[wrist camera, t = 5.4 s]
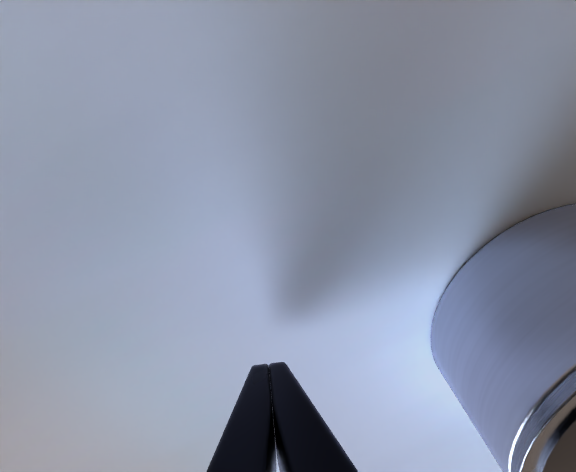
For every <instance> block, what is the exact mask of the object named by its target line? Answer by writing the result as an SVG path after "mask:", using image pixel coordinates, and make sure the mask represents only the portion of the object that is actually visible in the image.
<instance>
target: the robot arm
mask: <svg viewBox="0 0 576 472" xmlns="http://www.w3.org/2000/svg"><path fill="white" fill-rule="evenodd" d="M269 374H270V376H269ZM270 385H271V387H270ZM271 397H272V399H271ZM272 408H273V410H272ZM273 420H274V422H273ZM274 431H275V433H274ZM275 442H276V445H275ZM276 452H277V459H278V465H279V470H280V472H358V471H357V469H356V468H355V466H354V465H353V463H352V462H351V460H350V459H349V457H348V456H347V454H346V453H345V451H344V450H343V448H342V447H341V445H340V444H339V442H338V441H337V439H336V438H335V436H334V435H333V433H332V432H331V430H330V429H329V427H328V426H327V424H326V423H325V421H324V420H323V418H322V417H321V415H320V414H319V412H318V411H317V409H316V408H315V406H314V405H313V404H312V402H311V401H310V399H309V398H308V396H307V395H306V393H305V392H304V390H303V389H302V387H301V386H300V384H299V383H298V381H297V380H296V378H295V377H294V375H293V374H292V372H291V371H290V369H289V368H288V366H287V365H286V364H285V363H284V362H278V363H271V364H270V365H269V366H268V365H267V364H261V365H254V366H252V368H251V370H250V372H249V374H248V377H247V379H246V381H245V384H244V386H243V388H242V391H241V393H240V395H239V398H238V400H237V402H236V405H235V407H234V409H233V412H232V414H231V416H230V418H229V421H228V423H227V425H226V428H225V430H224V432H223V435H222V437H221V439H220V442H219V444H218V446H217V449H216V451H215V453H214V456H213V458H212V460H211V462H210V465H209V467H208V469H207V472H276Z"/></svg>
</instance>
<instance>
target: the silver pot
mask: <svg viewBox="0 0 576 472" xmlns="http://www.w3.org/2000/svg"><path fill="white" fill-rule="evenodd" d="M431 349H432V353H433V357H434V360H435V363H436V365H437V367H438V369H439V370H440V372H441V374H442V375H443V377H444V378H445V380H446V381H447V383H448V385H449V386H450V388H451V389H452V391H453V393H454V394H455V396H456V397H457V399H458V401H459V402H460V404H461V405H462V407H463V409H464V410H465V412H466V413H467V415H468V416H469V418H470V420H471V421H472V423H473V424H474V426H475V428H476V429H477V431H478V432H479V434H480V436H481V437H482V439H483V440H484V442H485V443H486V445H487V447H488V448H489V450H490V451H491V453H492V455H493V456H494V458H495V459H496V461H497V463H498V464H499V466H500V467H501V469H502V471H503V472H576V204H574V205H567V206H563V207H559V208H555V209H552V210H548V211H546V212H543V213H540V214H538V215H535V216H532V217H530V218H528V219H526V220H524V221H522V222H520V223H518V224H516V225H514V226H513V227H511V228H509V229H508V230H506V231H505V232H503V233H501V234H500V235H498V236H497V237H495V238H494V239H493V240H491V241H490V242H489V243H488V244H486V245H485V246H484V247H482V248H481V249H480V250H479V251H478V252H477V253H476V254H475V255H474V256H473V257H472V258H470V259H469V261H468V262H467V263H466V264H465V265H464V266H463V267H462V268H461V269H460V271H459V272H458V273H457V274H456V276H455V277H454V278H453V280H452V281H451V283H450V284H449V285H448V287H447V289H446V291H445V292H444V294H443V296H442V298H441V299H440V302H439V304H438V307H437V309H436V311H435V315H434V319H433V322H432V329H431Z"/></svg>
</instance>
